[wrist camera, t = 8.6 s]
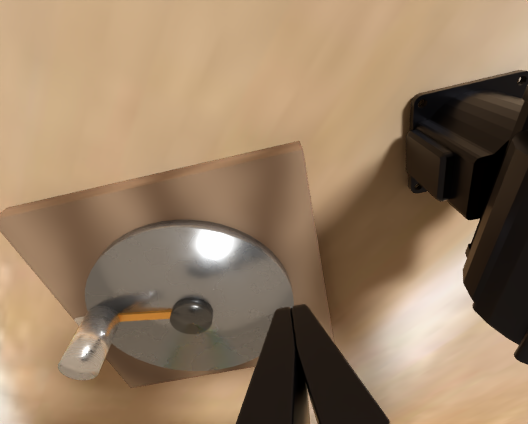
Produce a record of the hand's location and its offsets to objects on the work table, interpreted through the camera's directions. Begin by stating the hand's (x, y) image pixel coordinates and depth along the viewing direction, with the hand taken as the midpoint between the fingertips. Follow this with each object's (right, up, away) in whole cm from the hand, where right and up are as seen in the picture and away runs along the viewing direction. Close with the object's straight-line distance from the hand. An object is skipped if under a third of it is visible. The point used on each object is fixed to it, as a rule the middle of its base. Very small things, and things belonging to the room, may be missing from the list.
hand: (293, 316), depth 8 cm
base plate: (-6, -3, +17) cm, 18 cm away
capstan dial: (-6, -4, +16) cm, 17 cm away
